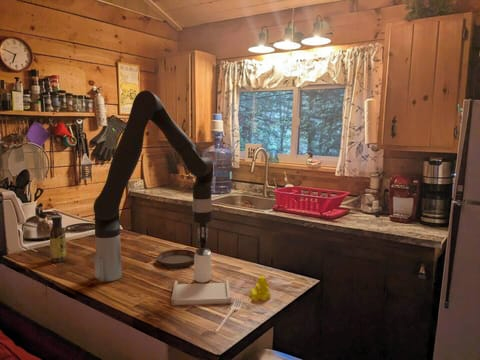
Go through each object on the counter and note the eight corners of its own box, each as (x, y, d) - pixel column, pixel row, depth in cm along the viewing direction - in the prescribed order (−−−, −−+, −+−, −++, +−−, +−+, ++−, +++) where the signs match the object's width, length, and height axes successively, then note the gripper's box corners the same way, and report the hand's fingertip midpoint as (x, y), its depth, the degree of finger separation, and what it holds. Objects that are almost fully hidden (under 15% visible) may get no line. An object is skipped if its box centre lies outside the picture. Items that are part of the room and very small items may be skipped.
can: (203, 285, 145) (204, 258, 141) (190, 279, 149) (190, 252, 144) (214, 277, 150) (215, 250, 146) (201, 271, 154) (201, 245, 149)
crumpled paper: (246, 298, 134) (247, 276, 133) (260, 290, 140) (260, 270, 139) (260, 303, 131) (260, 281, 130) (273, 295, 137) (274, 274, 136)
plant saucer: (167, 272, 158) (167, 265, 157) (150, 260, 172) (150, 253, 171) (204, 264, 168) (204, 257, 167) (185, 253, 182) (185, 246, 182)
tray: (175, 285, 144) (175, 280, 144) (228, 283, 146) (228, 279, 146) (171, 305, 128) (170, 300, 128) (230, 303, 130) (230, 298, 130)
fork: (211, 333, 113) (211, 327, 112) (235, 302, 131) (235, 297, 131) (221, 335, 112) (221, 329, 111) (244, 304, 130) (244, 298, 130)
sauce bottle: (64, 262, 168) (61, 218, 165) (48, 263, 167) (46, 218, 164) (68, 257, 174) (66, 214, 171) (53, 258, 173) (51, 215, 170)
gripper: (212, 213, 142) (213, 258, 144) (211, 205, 155) (212, 246, 157) (192, 213, 141) (193, 258, 144) (193, 205, 154) (194, 247, 157)
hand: (203, 252), depth 150 cm, fingers closed
